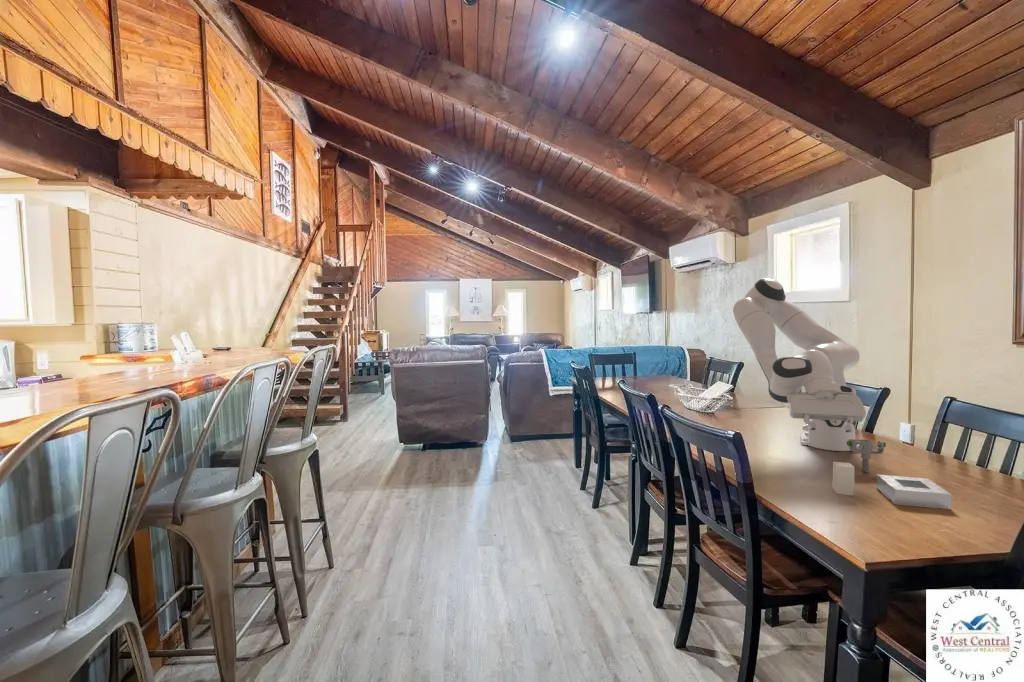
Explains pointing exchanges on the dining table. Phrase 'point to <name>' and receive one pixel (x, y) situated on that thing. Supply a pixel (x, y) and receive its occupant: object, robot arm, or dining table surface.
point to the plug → (843, 478)
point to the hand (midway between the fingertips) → (830, 430)
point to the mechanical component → (865, 450)
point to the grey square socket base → (913, 491)
